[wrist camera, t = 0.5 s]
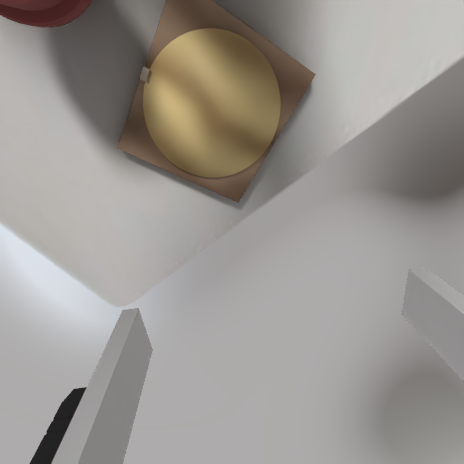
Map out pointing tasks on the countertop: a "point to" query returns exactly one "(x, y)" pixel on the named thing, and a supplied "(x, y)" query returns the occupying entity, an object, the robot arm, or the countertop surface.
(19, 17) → the mechanical component
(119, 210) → the countertop surface
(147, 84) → the marked board
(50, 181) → the countertop surface
